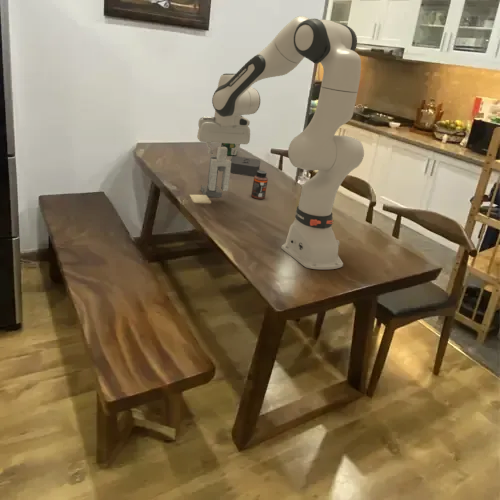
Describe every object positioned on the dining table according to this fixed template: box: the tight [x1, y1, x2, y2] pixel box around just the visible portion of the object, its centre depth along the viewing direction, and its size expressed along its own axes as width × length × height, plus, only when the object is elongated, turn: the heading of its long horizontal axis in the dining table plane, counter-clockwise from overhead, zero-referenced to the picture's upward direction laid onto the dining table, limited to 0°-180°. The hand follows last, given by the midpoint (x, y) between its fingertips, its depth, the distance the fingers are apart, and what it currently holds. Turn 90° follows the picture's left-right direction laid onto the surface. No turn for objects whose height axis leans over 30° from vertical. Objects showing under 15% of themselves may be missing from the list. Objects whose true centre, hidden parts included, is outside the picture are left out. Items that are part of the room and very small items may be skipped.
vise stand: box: [200, 154, 224, 198], centre depth 199 cm, size 15×7×16 cm, turn 19°
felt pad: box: [189, 194, 212, 204], centre depth 196 cm, size 8×7×1 cm
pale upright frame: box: [207, 146, 231, 192], centre depth 192 cm, size 3×7×17 cm, turn 109°
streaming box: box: [230, 155, 261, 177], centre depth 241 cm, size 14×14×5 cm
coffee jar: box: [220, 143, 238, 157], centre depth 264 cm, size 10×8×19 cm
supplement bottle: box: [251, 170, 269, 200], centre depth 207 cm, size 6×6×11 cm
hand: (221, 154), depth 189 cm, fingers open, 8 cm apart
